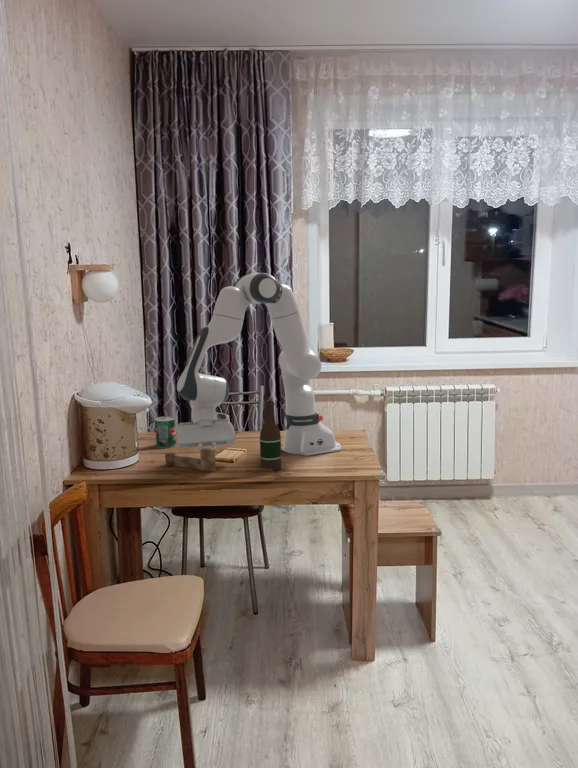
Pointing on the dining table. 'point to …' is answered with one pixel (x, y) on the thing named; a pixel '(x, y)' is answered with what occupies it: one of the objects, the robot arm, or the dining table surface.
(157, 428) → the canned tomato
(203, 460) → the wooden l-shaped block
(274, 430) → the beer bottle
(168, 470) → the dining table surface
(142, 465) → the dining table surface
